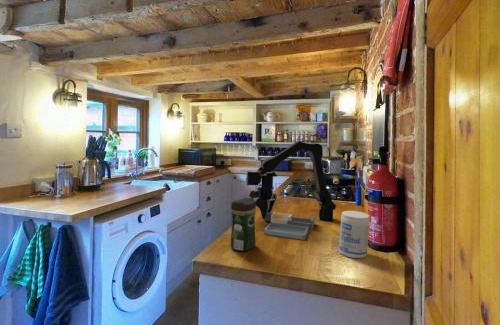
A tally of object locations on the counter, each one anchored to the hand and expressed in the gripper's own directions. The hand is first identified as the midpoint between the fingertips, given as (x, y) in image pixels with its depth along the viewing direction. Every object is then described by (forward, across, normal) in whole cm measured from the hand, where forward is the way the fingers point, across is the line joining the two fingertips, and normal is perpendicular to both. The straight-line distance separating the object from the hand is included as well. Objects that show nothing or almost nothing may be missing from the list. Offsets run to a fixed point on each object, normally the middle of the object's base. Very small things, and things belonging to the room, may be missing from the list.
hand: (266, 216), depth 135 cm
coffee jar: (+3, +35, +1) cm, 35 cm away
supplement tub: (+3, +25, +40) cm, 47 cm away
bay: (+2, 0, +17) cm, 17 cm away
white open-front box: (+2, 0, +6) cm, 6 cm away
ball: (0, 0, +6) cm, 6 cm away
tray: (+2, +13, +13) cm, 18 cm away
